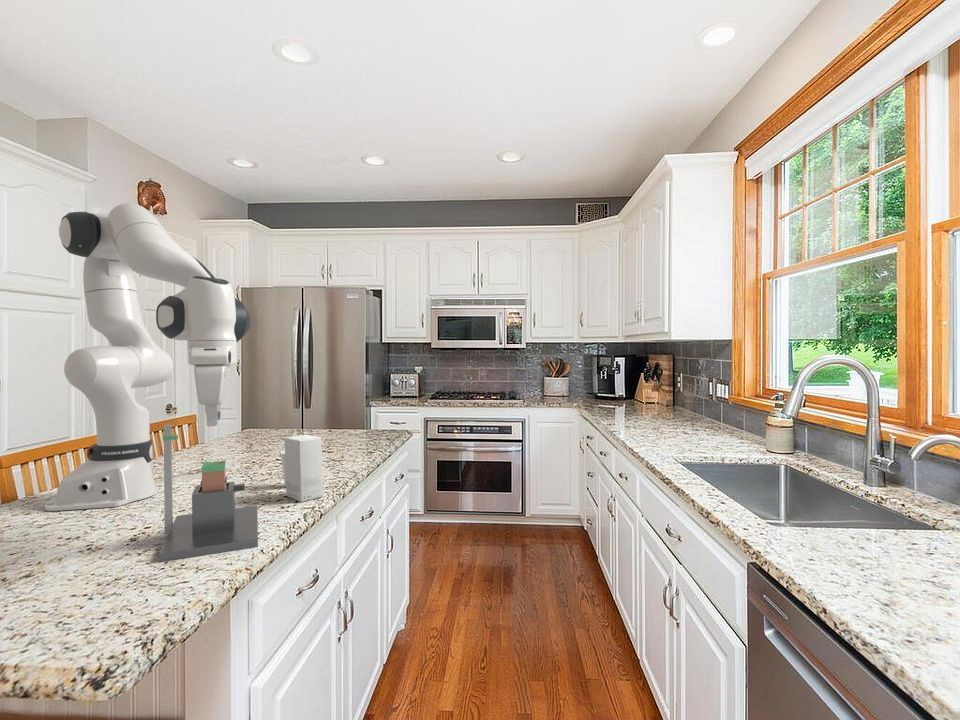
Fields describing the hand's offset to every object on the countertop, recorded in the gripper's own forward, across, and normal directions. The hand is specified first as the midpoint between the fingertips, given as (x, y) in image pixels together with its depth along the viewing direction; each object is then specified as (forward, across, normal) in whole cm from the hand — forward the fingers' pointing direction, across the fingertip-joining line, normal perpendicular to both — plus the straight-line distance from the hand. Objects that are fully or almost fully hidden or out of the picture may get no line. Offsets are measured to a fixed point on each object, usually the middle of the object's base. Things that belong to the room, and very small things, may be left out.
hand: (214, 422), depth 98 cm
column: (+21, 0, 0) cm, 21 cm away
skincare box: (+23, -19, +19) cm, 36 cm away
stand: (+23, 0, 0) cm, 23 cm away
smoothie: (+23, -31, +17) cm, 42 cm away
